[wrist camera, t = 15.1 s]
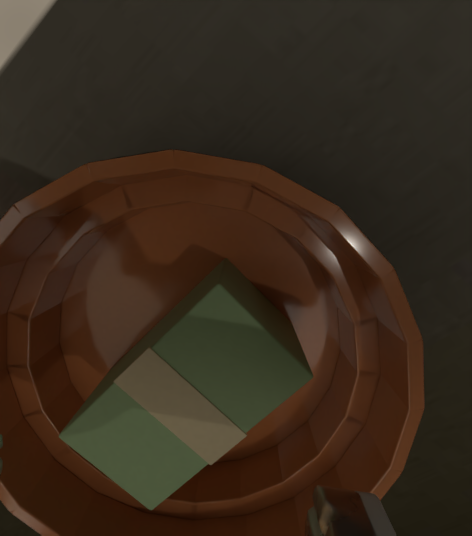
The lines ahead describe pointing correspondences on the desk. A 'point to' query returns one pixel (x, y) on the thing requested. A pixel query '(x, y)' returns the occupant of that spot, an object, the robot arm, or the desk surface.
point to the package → (190, 388)
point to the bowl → (160, 304)
